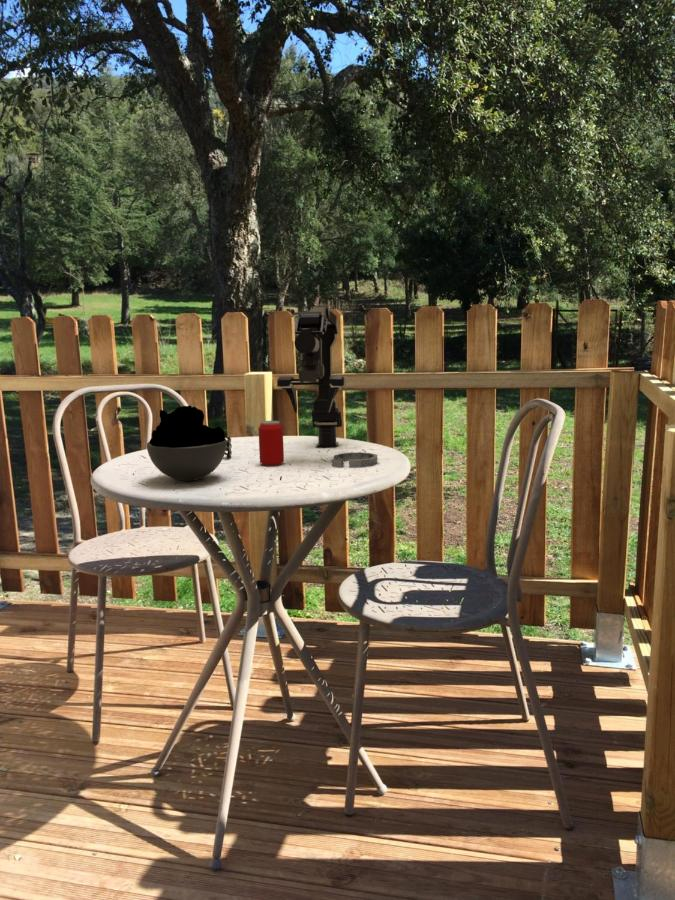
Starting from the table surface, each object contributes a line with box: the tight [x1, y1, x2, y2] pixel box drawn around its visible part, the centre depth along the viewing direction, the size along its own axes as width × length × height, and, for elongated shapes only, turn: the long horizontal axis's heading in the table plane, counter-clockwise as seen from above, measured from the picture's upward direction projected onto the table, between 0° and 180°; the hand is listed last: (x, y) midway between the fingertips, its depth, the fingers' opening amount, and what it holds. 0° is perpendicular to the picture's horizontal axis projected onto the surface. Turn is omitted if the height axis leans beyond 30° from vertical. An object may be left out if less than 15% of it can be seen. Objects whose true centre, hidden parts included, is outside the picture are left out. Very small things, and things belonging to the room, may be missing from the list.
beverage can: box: [258, 420, 285, 467], centre depth 211 cm, size 7×7×12 cm
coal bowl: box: [146, 405, 228, 482], centre depth 192 cm, size 20×20×19 cm
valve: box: [224, 435, 233, 459], centre depth 223 cm, size 7×7×12 cm
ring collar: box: [331, 451, 378, 469], centre depth 211 cm, size 12×12×2 cm
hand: (312, 412), depth 212 cm, fingers open, 9 cm apart
